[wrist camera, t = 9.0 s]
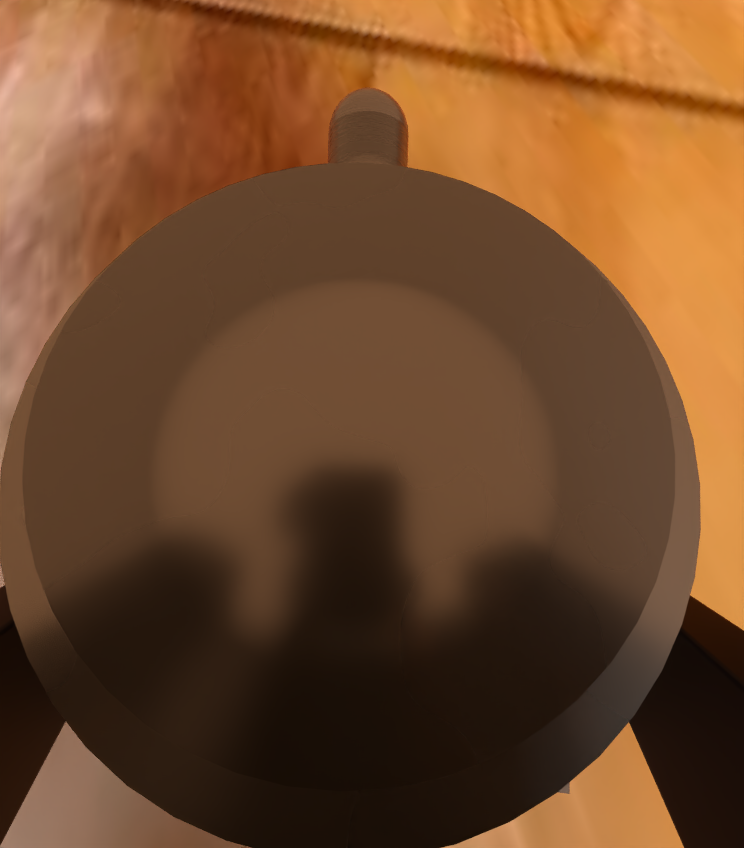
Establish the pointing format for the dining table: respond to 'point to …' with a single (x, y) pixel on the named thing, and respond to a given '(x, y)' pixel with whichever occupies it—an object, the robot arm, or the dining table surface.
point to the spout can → (349, 506)
